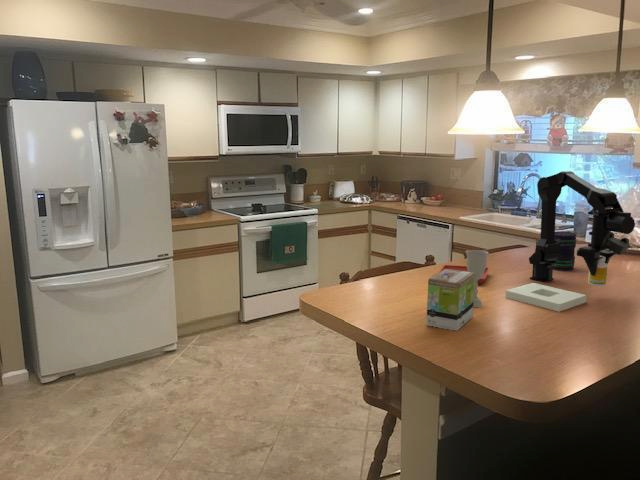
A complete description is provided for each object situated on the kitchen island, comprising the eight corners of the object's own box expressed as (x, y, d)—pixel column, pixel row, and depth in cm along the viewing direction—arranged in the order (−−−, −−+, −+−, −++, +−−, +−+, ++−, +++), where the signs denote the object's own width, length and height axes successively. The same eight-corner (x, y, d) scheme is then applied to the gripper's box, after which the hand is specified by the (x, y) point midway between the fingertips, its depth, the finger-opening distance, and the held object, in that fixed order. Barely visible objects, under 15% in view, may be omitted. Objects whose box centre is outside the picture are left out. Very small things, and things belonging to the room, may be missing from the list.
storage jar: (575, 267, 228) (578, 232, 225) (572, 272, 220) (575, 236, 217) (550, 264, 233) (552, 230, 230) (546, 269, 225) (548, 234, 222)
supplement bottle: (607, 286, 182) (610, 258, 180) (590, 286, 183) (592, 258, 181) (602, 282, 187) (605, 255, 185) (586, 281, 188) (588, 254, 186)
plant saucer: (436, 283, 209) (436, 274, 208) (443, 272, 225) (443, 264, 224) (485, 287, 202) (485, 278, 201) (488, 275, 219) (489, 267, 218)
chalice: (486, 302, 182) (489, 250, 178) (485, 308, 176) (488, 254, 172) (464, 301, 184) (466, 249, 181) (462, 306, 178) (464, 253, 174)
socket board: (505, 297, 188) (505, 290, 187) (532, 289, 197) (532, 282, 196) (559, 311, 172) (559, 304, 171) (585, 302, 181) (586, 295, 180)
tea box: (458, 332, 155) (460, 282, 153) (425, 326, 161) (426, 278, 158) (473, 317, 168) (475, 271, 165) (442, 312, 173) (443, 267, 170)
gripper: (611, 235, 170) (607, 283, 173) (640, 229, 180) (635, 274, 183) (577, 231, 178) (573, 276, 181) (606, 225, 189) (602, 268, 192)
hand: (597, 274), depth 184 cm, fingers closed on supplement bottle, 5 cm apart
